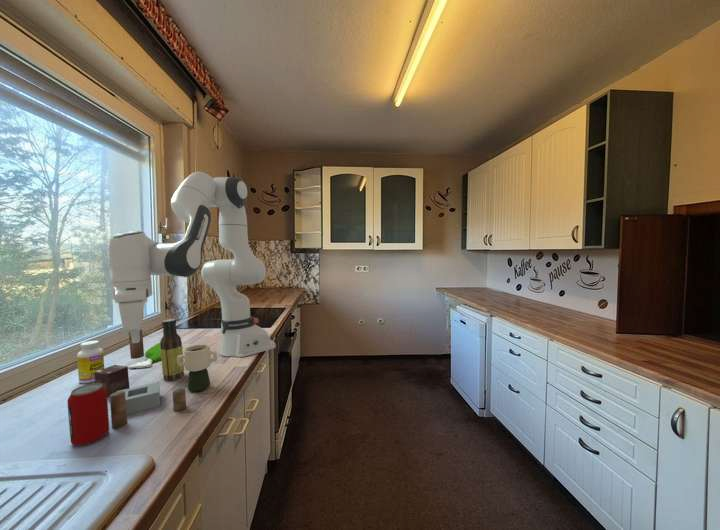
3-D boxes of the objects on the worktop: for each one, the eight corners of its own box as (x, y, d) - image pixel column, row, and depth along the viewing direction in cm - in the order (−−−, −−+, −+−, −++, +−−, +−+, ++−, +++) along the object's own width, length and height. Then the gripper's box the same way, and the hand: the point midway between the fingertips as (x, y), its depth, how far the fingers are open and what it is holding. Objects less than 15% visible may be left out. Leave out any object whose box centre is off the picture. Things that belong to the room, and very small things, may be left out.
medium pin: (127, 420, 78) (125, 389, 78) (126, 425, 76) (124, 394, 75) (112, 424, 76) (110, 393, 76) (111, 430, 74) (108, 398, 73)
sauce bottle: (188, 373, 107) (184, 317, 106) (178, 381, 101) (174, 321, 99) (169, 374, 107) (166, 318, 105) (158, 382, 100) (154, 322, 99)
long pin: (144, 353, 86) (141, 315, 86) (144, 357, 84) (141, 317, 83) (131, 356, 85) (128, 317, 84) (130, 359, 82) (127, 319, 81)
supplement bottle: (89, 384, 99) (86, 346, 99) (73, 383, 101) (70, 345, 100) (110, 376, 106) (107, 340, 105) (94, 375, 107) (92, 339, 107)
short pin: (185, 404, 85) (184, 387, 85) (186, 409, 83) (185, 391, 82) (173, 408, 84) (172, 390, 83) (173, 413, 81) (172, 394, 81)
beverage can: (87, 430, 74) (83, 382, 73) (116, 428, 74) (113, 381, 74) (62, 449, 67) (57, 396, 66) (95, 447, 68) (91, 394, 67)
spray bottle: (183, 347, 137) (156, 369, 113) (156, 349, 135) (123, 372, 111) (183, 340, 137) (156, 361, 113) (156, 342, 135) (123, 364, 111)
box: (130, 389, 96) (128, 366, 95) (109, 398, 90) (107, 374, 90) (116, 386, 98) (115, 364, 97) (95, 395, 92) (93, 371, 92)
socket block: (159, 394, 91) (159, 381, 91) (160, 406, 85) (159, 392, 85) (117, 404, 86) (116, 391, 86) (114, 417, 79) (113, 402, 79)
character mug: (219, 380, 100) (217, 341, 100) (217, 389, 94) (215, 348, 93) (181, 386, 96) (178, 346, 96) (176, 397, 90) (174, 353, 89)
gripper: (121, 287, 90) (124, 333, 91) (113, 297, 73) (118, 353, 74) (147, 285, 93) (150, 329, 94) (145, 294, 77) (149, 347, 78)
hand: (136, 340), depth 84 cm, fingers closed on long pin, 3 cm apart
